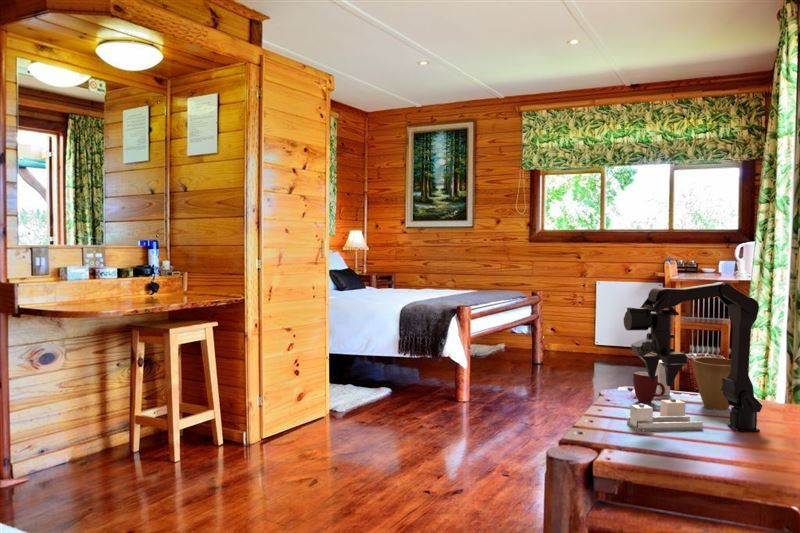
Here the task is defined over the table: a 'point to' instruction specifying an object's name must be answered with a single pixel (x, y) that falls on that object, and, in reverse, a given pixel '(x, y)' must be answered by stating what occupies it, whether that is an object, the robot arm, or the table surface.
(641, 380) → the mug
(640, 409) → the rail
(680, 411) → the block
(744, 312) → the robot arm
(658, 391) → the skincare box
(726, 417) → the table surface
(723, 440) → the table surface
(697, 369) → the plant pot
